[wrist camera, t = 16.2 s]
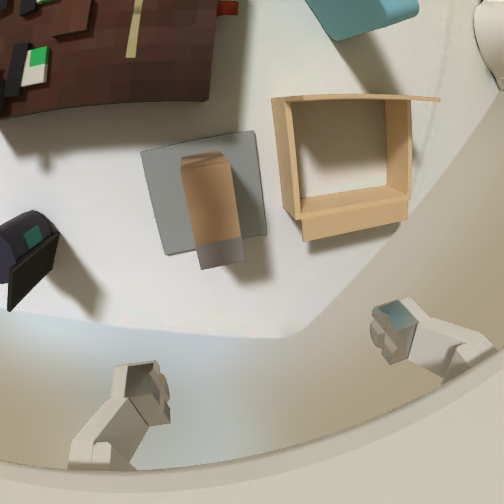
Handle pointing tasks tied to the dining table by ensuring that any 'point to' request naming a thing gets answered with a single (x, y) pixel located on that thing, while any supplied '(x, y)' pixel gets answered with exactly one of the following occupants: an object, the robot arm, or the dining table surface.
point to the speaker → (25, 254)
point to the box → (212, 208)
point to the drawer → (356, 201)
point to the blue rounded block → (360, 15)
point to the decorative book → (104, 52)
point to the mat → (172, 192)
